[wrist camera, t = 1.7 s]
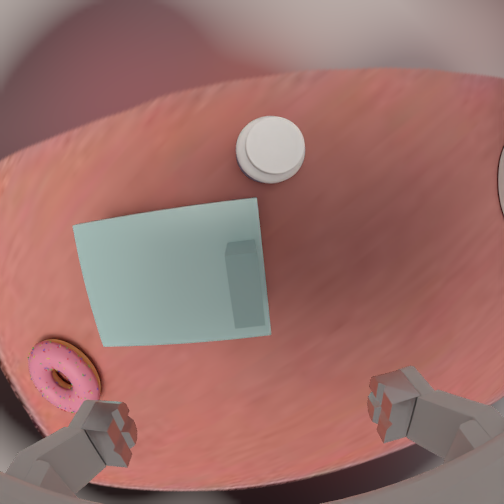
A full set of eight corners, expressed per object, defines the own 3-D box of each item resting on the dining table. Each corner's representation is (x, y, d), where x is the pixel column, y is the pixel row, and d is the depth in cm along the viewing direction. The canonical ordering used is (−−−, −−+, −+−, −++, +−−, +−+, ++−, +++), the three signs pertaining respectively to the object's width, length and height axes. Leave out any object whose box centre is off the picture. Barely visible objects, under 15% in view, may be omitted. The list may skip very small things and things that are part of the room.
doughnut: (42, 386, 34) (30, 402, 30) (33, 322, 32) (16, 336, 28) (107, 410, 35) (97, 429, 31) (104, 347, 33) (91, 365, 29)
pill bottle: (262, 194, 29) (271, 200, 20) (225, 153, 28) (218, 143, 19) (303, 157, 28) (329, 149, 20) (266, 117, 27) (277, 92, 19)
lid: (256, 197, 23) (260, 202, 18) (270, 329, 26) (276, 361, 21) (78, 223, 23) (46, 234, 18) (107, 341, 26) (86, 370, 21)
